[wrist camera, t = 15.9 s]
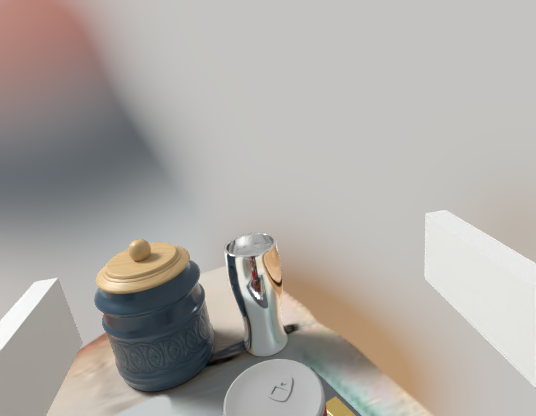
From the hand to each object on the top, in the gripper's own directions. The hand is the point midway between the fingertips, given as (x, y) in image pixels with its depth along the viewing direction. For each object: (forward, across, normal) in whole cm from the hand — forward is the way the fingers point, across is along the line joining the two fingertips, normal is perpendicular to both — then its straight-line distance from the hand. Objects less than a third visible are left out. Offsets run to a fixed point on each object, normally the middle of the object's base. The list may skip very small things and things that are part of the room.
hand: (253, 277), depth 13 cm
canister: (+31, -13, -28) cm, 44 cm away
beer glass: (+30, 0, -28) cm, 41 cm away
